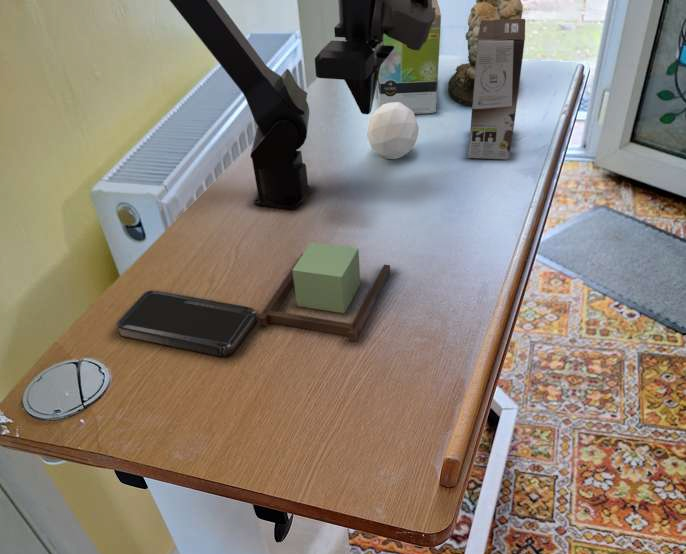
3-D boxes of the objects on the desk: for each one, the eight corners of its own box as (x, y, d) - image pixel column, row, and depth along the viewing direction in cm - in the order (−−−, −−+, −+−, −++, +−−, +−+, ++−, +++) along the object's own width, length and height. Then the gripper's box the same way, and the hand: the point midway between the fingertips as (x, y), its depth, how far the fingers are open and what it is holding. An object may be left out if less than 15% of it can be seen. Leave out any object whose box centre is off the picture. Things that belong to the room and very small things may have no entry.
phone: (227, 350, 73) (112, 326, 77) (229, 358, 74) (115, 334, 78) (258, 308, 78) (148, 287, 82) (260, 316, 78) (151, 295, 83)
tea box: (438, 114, 113) (442, 12, 102) (378, 117, 114) (376, 17, 103) (431, 80, 123) (434, -15, 112) (377, 84, 124) (374, -11, 113)
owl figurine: (451, 68, 126) (457, -42, 114) (515, 68, 124) (529, -44, 112) (444, 107, 115) (450, -11, 102) (515, 108, 113) (530, -12, 100)
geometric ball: (406, 171, 106) (437, 133, 100) (368, 169, 101) (399, 129, 95) (386, 132, 107) (416, 92, 101) (348, 128, 103) (377, 86, 96)
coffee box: (510, 160, 100) (525, 39, 88) (467, 159, 102) (476, 39, 90) (512, 134, 106) (527, 17, 94) (471, 133, 108) (480, 17, 95)
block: (297, 306, 79) (291, 269, 76) (314, 278, 83) (310, 241, 79) (344, 313, 78) (341, 276, 74) (360, 284, 82) (358, 248, 78)
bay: (259, 325, 77) (258, 317, 77) (303, 261, 86) (302, 253, 85) (354, 342, 74) (354, 333, 73) (390, 273, 83) (390, 264, 82)
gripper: (407, -3, 69) (406, 149, 81) (449, -50, 80) (442, 89, 92) (307, -6, 72) (319, 141, 84) (361, -51, 83) (365, 85, 95)
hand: (366, 113), depth 88 cm, fingers closed
